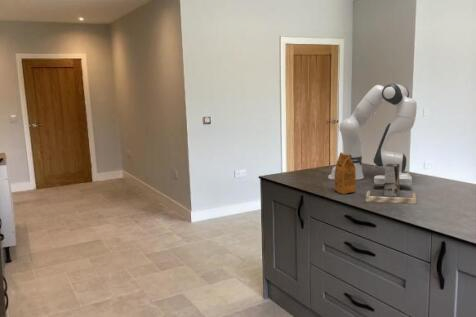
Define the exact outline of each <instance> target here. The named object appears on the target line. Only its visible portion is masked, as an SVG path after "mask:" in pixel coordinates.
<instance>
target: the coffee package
mask: <svg viewBox="0 0 476 317" xmlns="http://www.w3.org/2000/svg"><path fill="white" fill-rule="evenodd" d="M351 157H352V156H351V155H345V154H343V151H341V152H339V155H338V158H337V160H336V165H335V166H336V168H335V177H334V179H335V180H334V179H333V180H334V191H336V192H337V193H338V194H342V195H345V194H348V193H354V192H356V188H357V180H356V179H355V178H356V173H355V171H356V168H355V165H354V164H353V162H352V160H351Z"/></svg>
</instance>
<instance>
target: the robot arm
mask: <svg viewBox="0 0 476 317" xmlns="http://www.w3.org/2000/svg"><path fill="white" fill-rule="evenodd" d="M409 96H410V92H409V90H408V88H407V87H406V86H404V85H402V84H398V83H396V84H395V83H389V84H386V85H385V86H383V85H381V84H376V85H374V86H373V87H372V88H371V89H370V90H369V91H367V93H366V94H365V95H364V96H363V98H362V99H361V100H360V102H358V104H357V105H356V106H355V109H354V110H353V112H352V114H351V115H350V116H349V117H346V118H344V119H343V120H342V121H341V122H340V124H339V126H338V128H339V132H340V135H341V139H342V147H343V148H342V150H343V151H342V153H343V154H345V155H351V156H352V157H351V160H352V162H353V164H354V165H355V168H356V171H355V173H356V178H355V179H356V181H358V180H362V179H364V178H365V176H364V172H363V167H362V166H363V156H362V143H361V138H360V132H362V130H363V129H364V128H365V126H366V125H367V123H368V122H369V120H370V119H371V118H372V116H374V114H375V113H376V111H378V109H379V108H380V106H382V104H384V102H387V103H389V104H391V105H393V106H395V107H396V108H395V109H396V110H395V116H394V119H393V120H392V122H391V123H388V124H387V125H386V127H385V129H384V132H383V134H382V137H381V139H380V142H379V144H378V147H377V150H376V151H375V153H374V155H373V158H372V160H373V163H374V165H375V166H376V167H381V168H383V167H384V168H385V166H386V165H387V164H400V165H399V186H400V185H406V186H407V185H410V186H411V185H412V184H413V177H412V175H410V172H407V171H406V172H405V170H406V167H407V156H406V155H405V154H404V153H402V152H396V151H389V150H386V147H387V145H388V142H389V139H390V137H391V136H394V135H396V134H402V133H407V132H409V131H410V130H411V129H412V128H413V127H414V124H415V121H416V117H417V116H416V115H417V109H418V108H417V106H418V105H417V101H416V100H415V99H414V98H411V97H409ZM335 168H336V165H334V166H333V167H332V169H331V173H330V174H328V176H327V179H329V180H334V181H335V179H334V177H335ZM373 184H375V185H378V184H379V185H385V174H384V175H383V174H382V175H380V174H379V175H375V176H374V177H373Z"/></svg>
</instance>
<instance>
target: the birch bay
mask: <svg viewBox="0 0 476 317" xmlns="http://www.w3.org/2000/svg"><path fill="white" fill-rule="evenodd" d="M371 194H372V193H371V190H367V192H366V195H365V202H367V203H368V202H369V203H384V204H385V203H386V204H387V203H389V204H409V205H412V204H413V205H417V192H412V197H399V196H398V197H397V196H396V197H395V196H373V195H372V196H371Z"/></svg>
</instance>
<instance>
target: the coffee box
mask: <svg viewBox="0 0 476 317" xmlns="http://www.w3.org/2000/svg"><path fill="white" fill-rule="evenodd" d="M399 165H400V164H387V165H386V166H385V167H384V175H385V184H384V194H383V196H384V197H397V196H398V195H399V193H400V185H399Z"/></svg>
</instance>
